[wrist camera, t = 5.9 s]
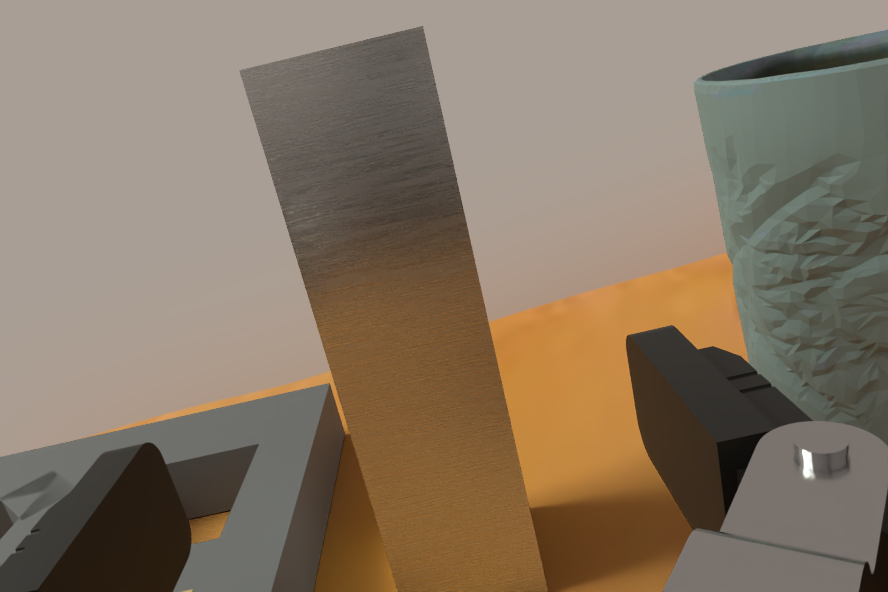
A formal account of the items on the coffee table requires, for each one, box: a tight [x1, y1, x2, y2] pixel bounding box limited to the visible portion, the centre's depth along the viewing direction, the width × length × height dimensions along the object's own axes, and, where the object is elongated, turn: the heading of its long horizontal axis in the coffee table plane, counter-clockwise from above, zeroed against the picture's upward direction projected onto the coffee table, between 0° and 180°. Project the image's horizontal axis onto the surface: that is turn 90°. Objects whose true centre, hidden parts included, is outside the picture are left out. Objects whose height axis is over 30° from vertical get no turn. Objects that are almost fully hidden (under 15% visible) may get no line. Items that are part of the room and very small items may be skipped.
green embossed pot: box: [694, 30, 888, 446], centre depth 23 cm, size 10×10×12 cm
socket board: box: [0, 383, 345, 592], centre depth 24 cm, size 18×14×3 cm
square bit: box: [240, 26, 548, 592], centre depth 19 cm, size 4×4×15 cm
